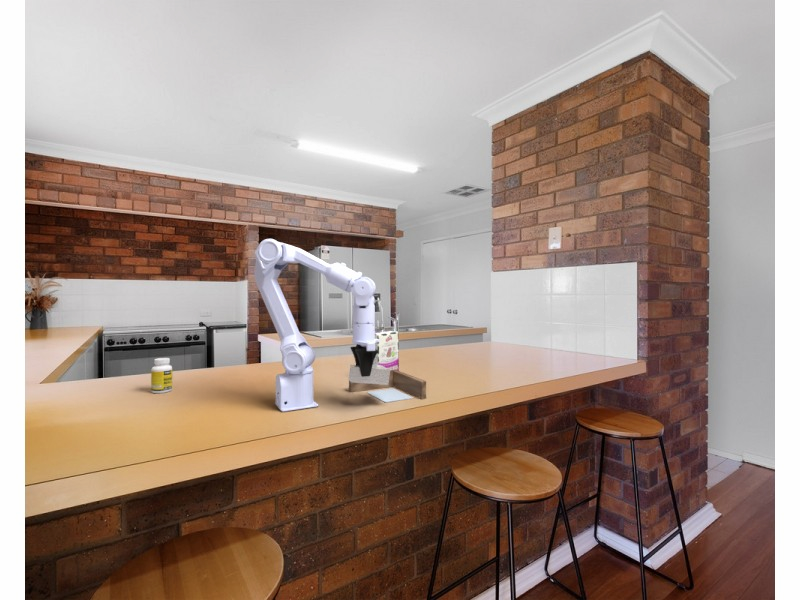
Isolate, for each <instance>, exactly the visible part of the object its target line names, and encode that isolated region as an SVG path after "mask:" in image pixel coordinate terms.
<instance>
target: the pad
mask: <svg viewBox="0 0 800 600" xmlns="http://www.w3.org/2000/svg"><path fill="white" fill-rule="evenodd" d="M366 393H367V394H368V395H370V396H372V397H374V398H376V399H377V400H379V401H382V402H383V403H392V402H399V401H405V400H411V399H414V397H412V395H410V394H407V393H405V392H403V391H401V390H399V389H398V390H397V389H395V388H394V387H391V388H386V389H385V388H384V389H377V390H371V391H370V390H369V391H366Z"/></svg>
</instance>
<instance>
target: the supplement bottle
mask: <svg viewBox="0 0 800 600" xmlns="http://www.w3.org/2000/svg"><path fill="white" fill-rule="evenodd" d="M153 360H154V361H153V364H154V366H152V368H151V370H150V375H151V376H150V379H151V380H150V381H151V382H150V384H151V385H150V390H151V391H150V392H151V393H153V394H164V393H165V394H166V393H169V392H172V390H173V366H172V365H171V364H170V362H171V358H170V357H158V358H154V359H153Z"/></svg>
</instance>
